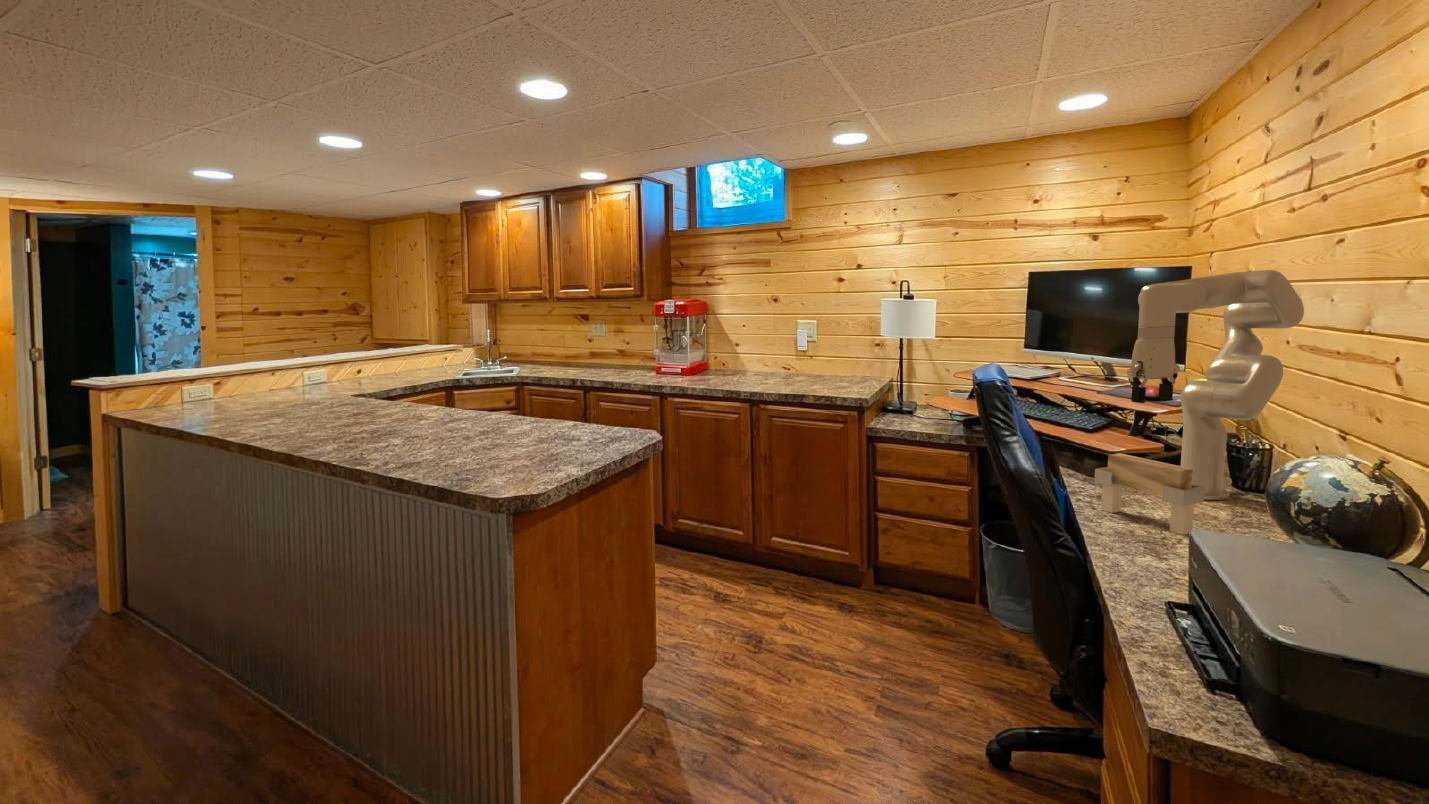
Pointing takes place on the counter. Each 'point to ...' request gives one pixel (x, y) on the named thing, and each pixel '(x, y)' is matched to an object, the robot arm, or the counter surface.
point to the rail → (1148, 474)
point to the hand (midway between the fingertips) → (1151, 400)
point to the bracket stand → (1178, 497)
